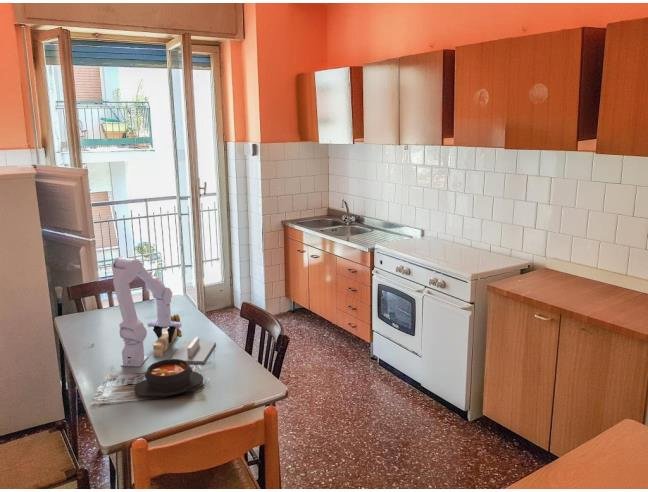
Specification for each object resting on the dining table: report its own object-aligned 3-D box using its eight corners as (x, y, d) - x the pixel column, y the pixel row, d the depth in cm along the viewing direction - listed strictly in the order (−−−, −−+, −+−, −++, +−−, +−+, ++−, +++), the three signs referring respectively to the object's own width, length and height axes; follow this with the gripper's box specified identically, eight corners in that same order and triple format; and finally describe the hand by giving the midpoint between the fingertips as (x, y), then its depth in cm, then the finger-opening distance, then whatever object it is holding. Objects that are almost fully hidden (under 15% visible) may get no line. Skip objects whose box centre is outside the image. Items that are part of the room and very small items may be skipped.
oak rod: (161, 356, 230) (161, 345, 228) (153, 356, 230) (153, 345, 229) (177, 336, 251) (176, 326, 250) (169, 336, 251) (168, 326, 250)
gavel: (191, 328, 252) (169, 333, 247) (191, 337, 253) (170, 342, 248) (177, 312, 269) (156, 316, 264) (177, 321, 270) (157, 325, 265)
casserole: (196, 371, 215) (195, 351, 213) (209, 391, 199) (208, 370, 197) (131, 384, 204) (129, 364, 202) (138, 407, 188) (137, 384, 186)
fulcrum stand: (203, 363, 222) (203, 352, 220) (170, 362, 222) (169, 351, 221) (215, 344, 241) (215, 334, 240) (185, 343, 242) (184, 333, 241)
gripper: (182, 310, 241) (184, 339, 243) (151, 309, 241) (153, 338, 244) (177, 315, 234) (179, 345, 237) (145, 315, 234) (147, 344, 237)
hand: (165, 342), depth 240 cm, fingers open, 4 cm apart
